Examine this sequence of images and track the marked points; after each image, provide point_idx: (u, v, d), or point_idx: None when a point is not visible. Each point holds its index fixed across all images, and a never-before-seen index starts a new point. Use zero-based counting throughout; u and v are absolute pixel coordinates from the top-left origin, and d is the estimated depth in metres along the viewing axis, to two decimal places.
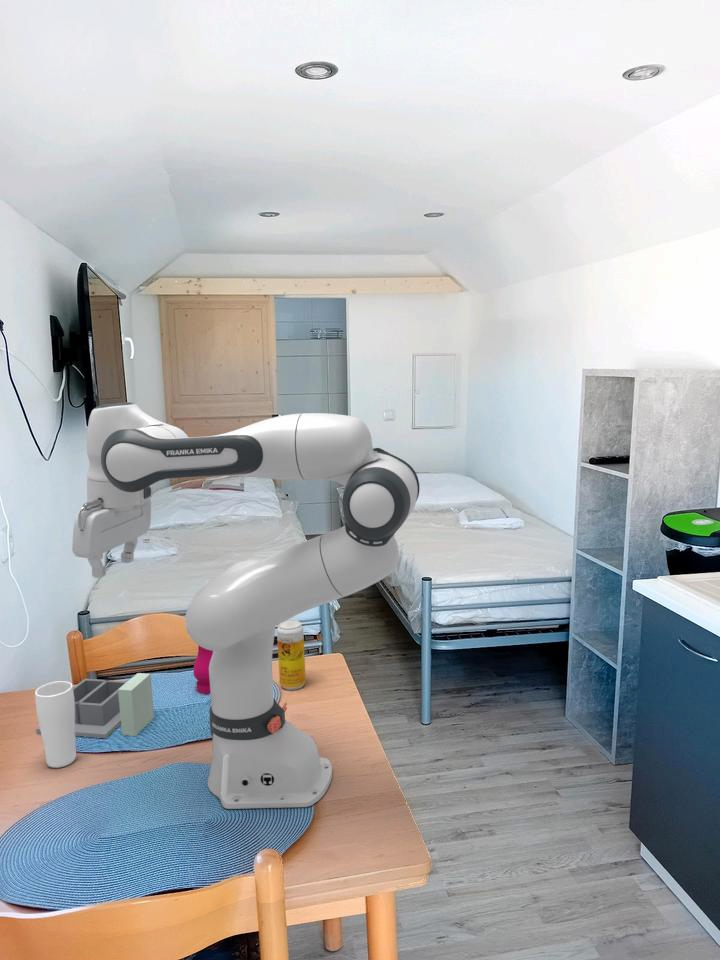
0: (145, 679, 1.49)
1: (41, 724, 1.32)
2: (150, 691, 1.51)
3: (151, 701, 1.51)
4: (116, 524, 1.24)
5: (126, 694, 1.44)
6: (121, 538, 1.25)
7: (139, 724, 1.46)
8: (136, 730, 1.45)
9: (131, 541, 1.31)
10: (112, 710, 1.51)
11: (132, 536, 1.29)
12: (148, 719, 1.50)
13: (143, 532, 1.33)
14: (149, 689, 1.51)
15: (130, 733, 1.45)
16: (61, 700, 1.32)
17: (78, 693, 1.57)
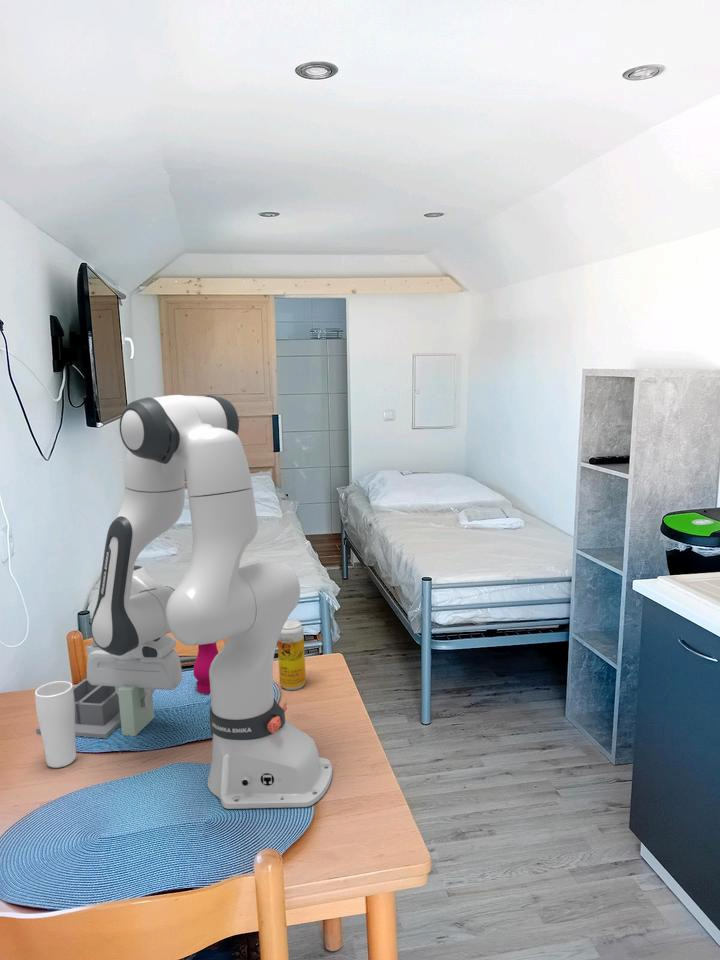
0: None
1: (41, 724, 1.32)
2: None
3: (151, 701, 1.51)
4: (121, 668, 1.46)
5: (126, 694, 1.44)
6: (127, 682, 1.46)
7: (139, 724, 1.46)
8: (136, 730, 1.45)
9: None
10: (112, 710, 1.51)
11: (145, 686, 1.45)
12: (148, 719, 1.50)
13: (163, 687, 1.44)
14: None
15: (130, 733, 1.45)
16: (61, 700, 1.32)
17: (78, 693, 1.57)
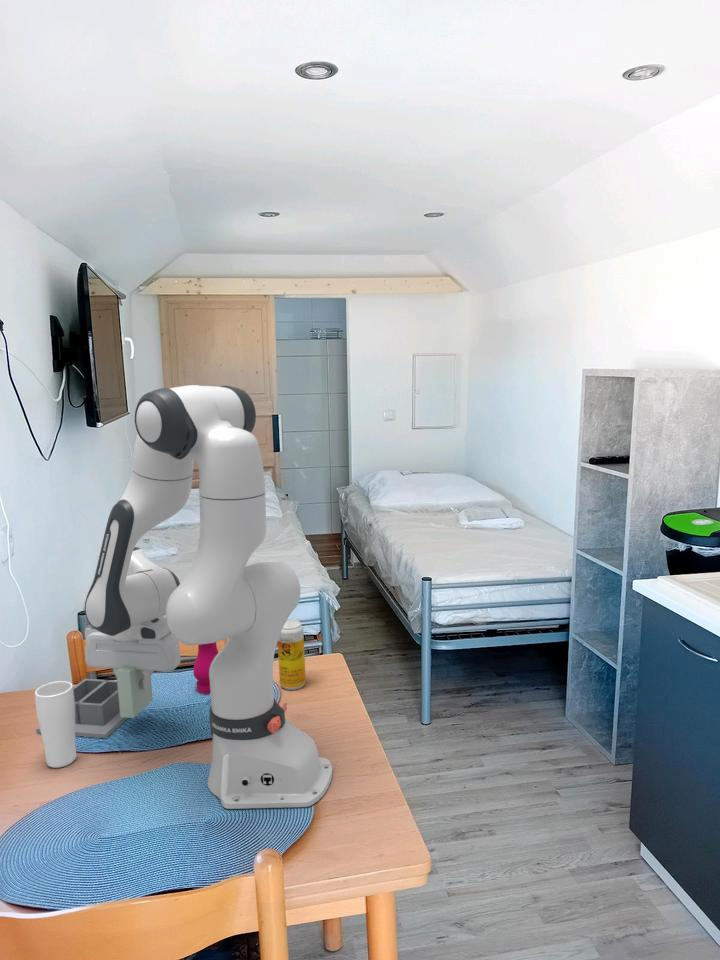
0: None
1: (41, 724, 1.32)
2: None
3: (150, 683, 1.51)
4: (120, 650, 1.45)
5: (125, 675, 1.43)
6: (125, 663, 1.45)
7: (137, 706, 1.46)
8: (134, 712, 1.45)
9: None
10: (112, 710, 1.51)
11: (143, 667, 1.44)
12: (146, 702, 1.50)
13: (161, 669, 1.44)
14: None
15: (128, 715, 1.44)
16: (61, 700, 1.32)
17: (78, 693, 1.57)
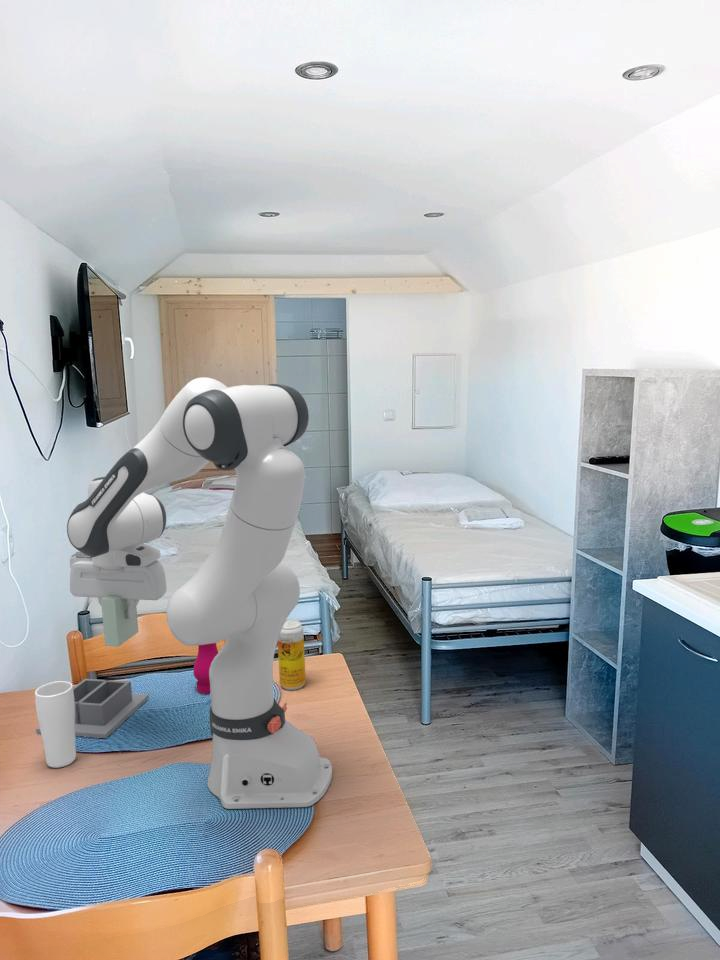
0: None
1: (41, 724, 1.32)
2: None
3: (135, 615, 1.50)
4: (105, 578, 1.44)
5: (109, 603, 1.42)
6: (110, 592, 1.44)
7: (122, 636, 1.45)
8: (119, 641, 1.44)
9: None
10: (112, 710, 1.51)
11: (128, 596, 1.43)
12: (132, 633, 1.48)
13: (146, 597, 1.42)
14: None
15: (113, 644, 1.43)
16: (61, 700, 1.32)
17: (78, 693, 1.57)
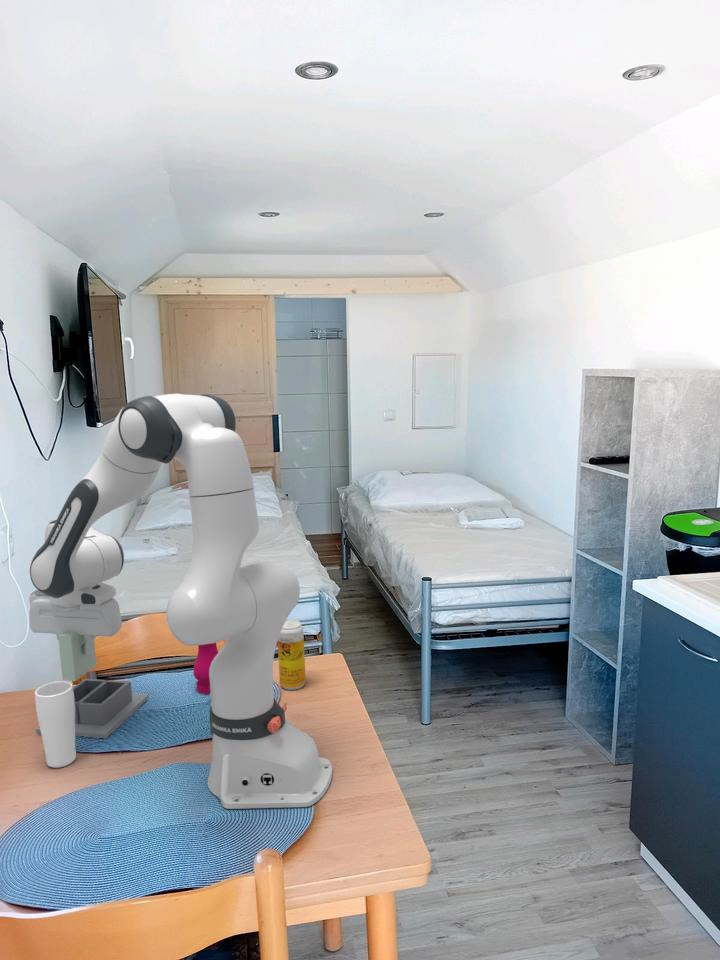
0: None
1: (41, 724, 1.32)
2: None
3: (93, 649, 1.56)
4: (62, 615, 1.50)
5: (66, 640, 1.48)
6: (68, 629, 1.50)
7: (79, 670, 1.51)
8: (76, 675, 1.50)
9: None
10: (112, 710, 1.51)
11: (84, 632, 1.50)
12: (89, 667, 1.55)
13: (102, 634, 1.49)
14: None
15: (70, 678, 1.50)
16: (61, 700, 1.32)
17: (78, 693, 1.57)
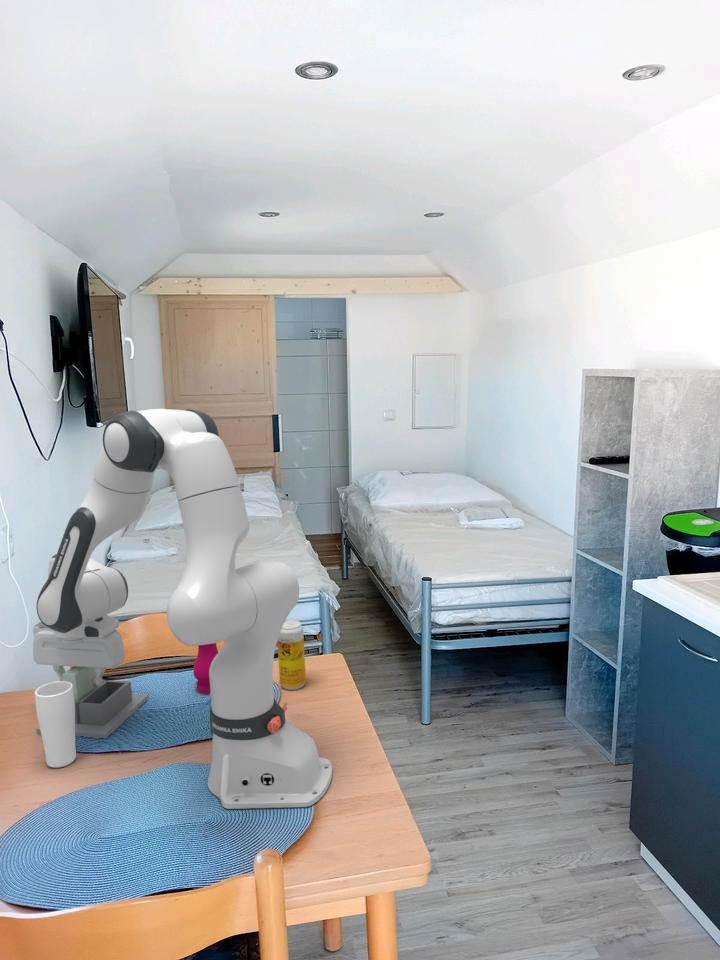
0: None
1: (41, 724, 1.32)
2: None
3: (97, 686, 1.57)
4: (66, 648, 1.51)
5: (70, 679, 1.49)
6: (71, 661, 1.51)
7: None
8: None
9: None
10: (112, 710, 1.51)
11: (88, 664, 1.51)
12: None
13: (105, 666, 1.50)
14: (95, 674, 1.57)
15: None
16: (61, 700, 1.32)
17: None
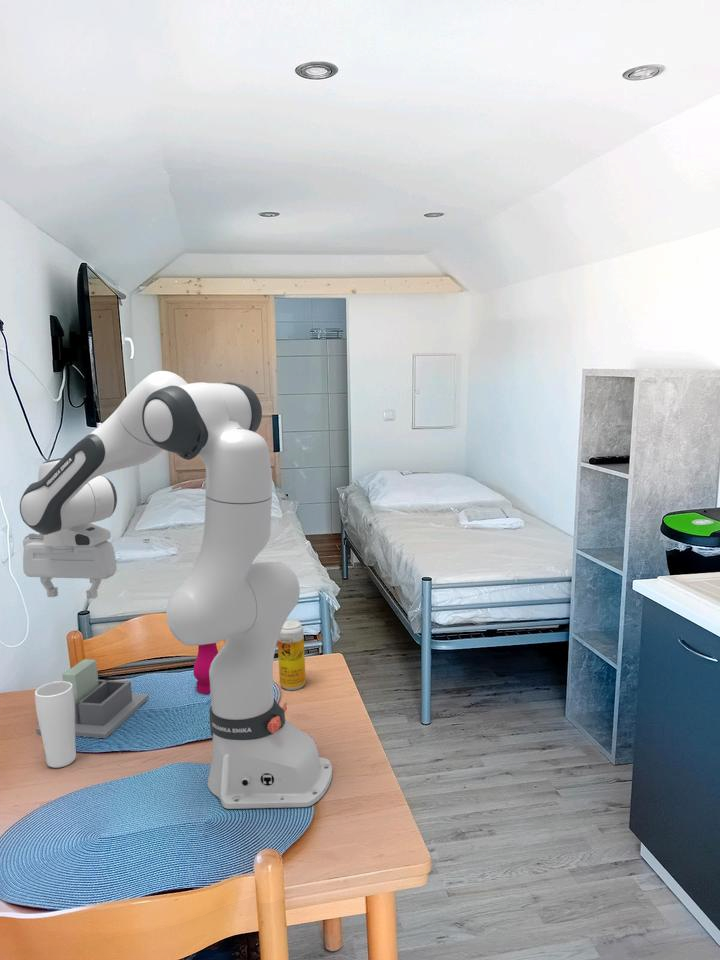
0: (90, 665, 1.55)
1: (41, 724, 1.32)
2: (96, 677, 1.57)
3: (97, 686, 1.57)
4: (56, 558, 1.48)
5: (70, 679, 1.49)
6: (62, 572, 1.48)
7: None
8: None
9: None
10: (112, 710, 1.51)
11: (79, 575, 1.48)
12: None
13: (96, 576, 1.47)
14: (95, 674, 1.57)
15: None
16: (61, 700, 1.32)
17: None
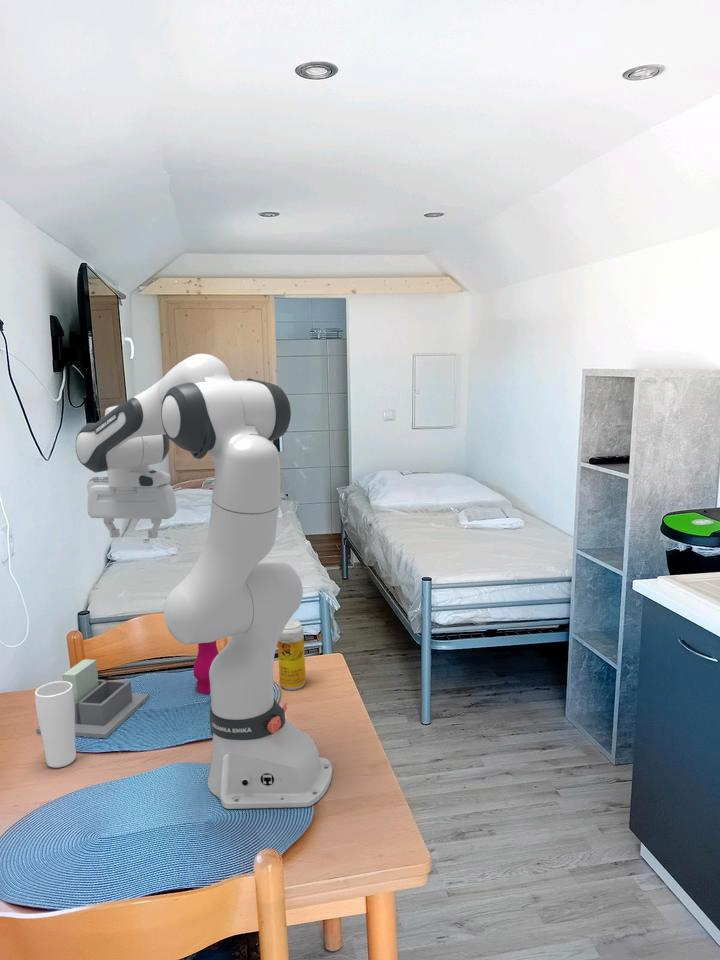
0: (90, 665, 1.55)
1: (41, 724, 1.32)
2: (96, 677, 1.57)
3: (97, 686, 1.57)
4: (120, 500, 1.57)
5: (70, 679, 1.49)
6: (125, 513, 1.56)
7: None
8: None
9: None
10: (112, 710, 1.51)
11: (141, 515, 1.56)
12: None
13: (158, 516, 1.55)
14: (95, 674, 1.57)
15: None
16: (61, 700, 1.32)
17: None
